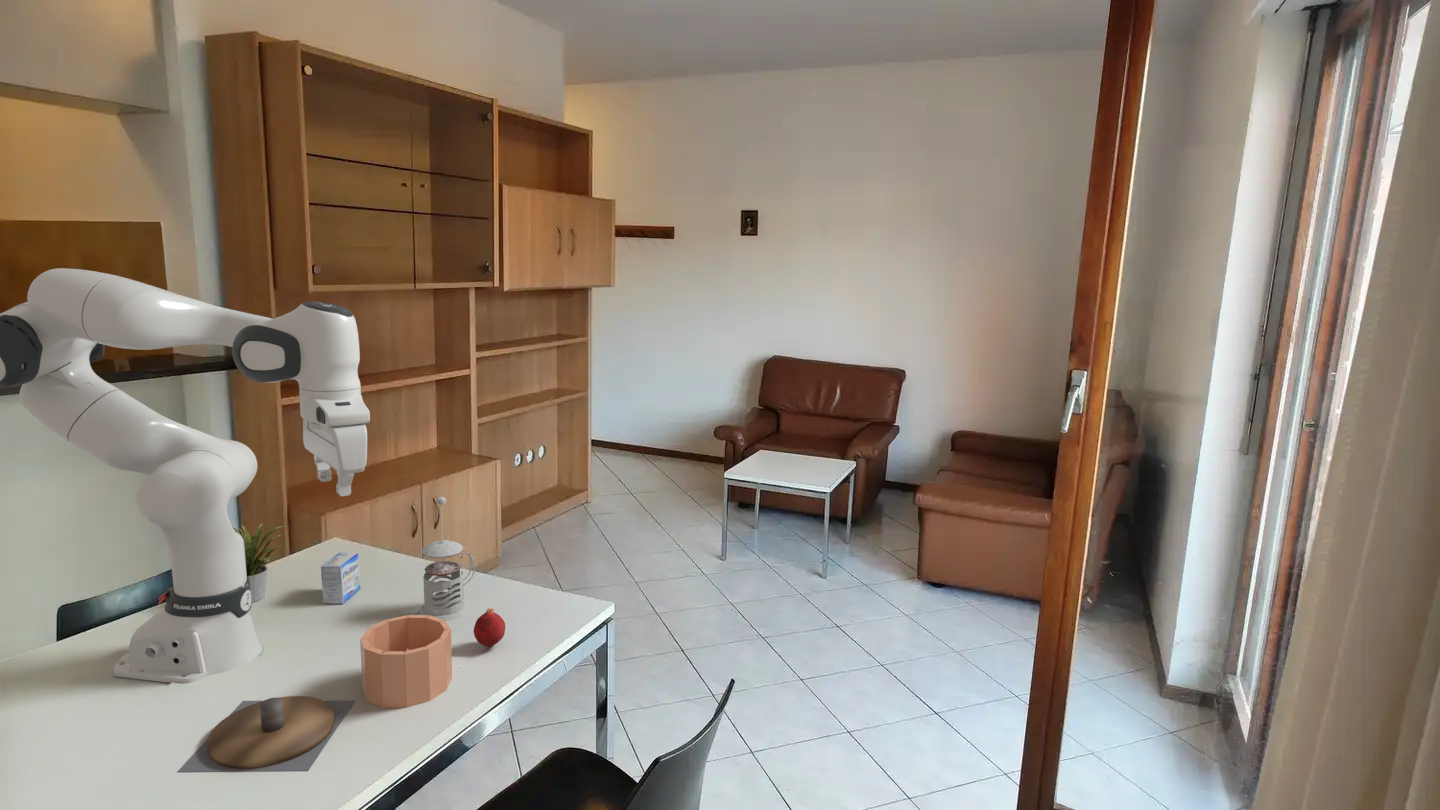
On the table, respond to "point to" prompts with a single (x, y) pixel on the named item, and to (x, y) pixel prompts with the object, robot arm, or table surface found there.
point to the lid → (270, 732)
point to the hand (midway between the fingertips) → (334, 487)
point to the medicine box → (340, 578)
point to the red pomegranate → (489, 628)
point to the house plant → (257, 561)
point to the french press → (444, 602)
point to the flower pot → (406, 661)
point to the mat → (302, 763)
